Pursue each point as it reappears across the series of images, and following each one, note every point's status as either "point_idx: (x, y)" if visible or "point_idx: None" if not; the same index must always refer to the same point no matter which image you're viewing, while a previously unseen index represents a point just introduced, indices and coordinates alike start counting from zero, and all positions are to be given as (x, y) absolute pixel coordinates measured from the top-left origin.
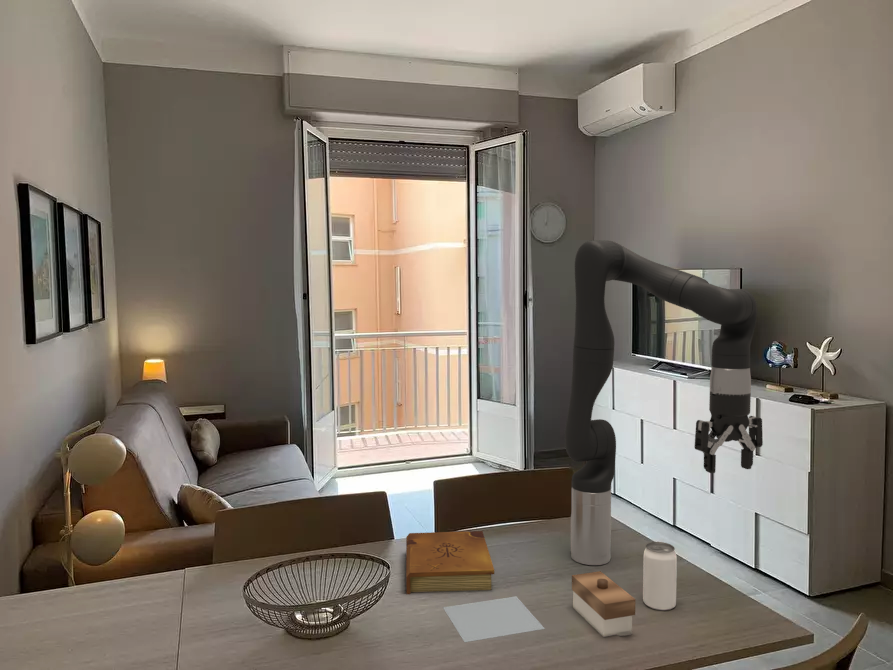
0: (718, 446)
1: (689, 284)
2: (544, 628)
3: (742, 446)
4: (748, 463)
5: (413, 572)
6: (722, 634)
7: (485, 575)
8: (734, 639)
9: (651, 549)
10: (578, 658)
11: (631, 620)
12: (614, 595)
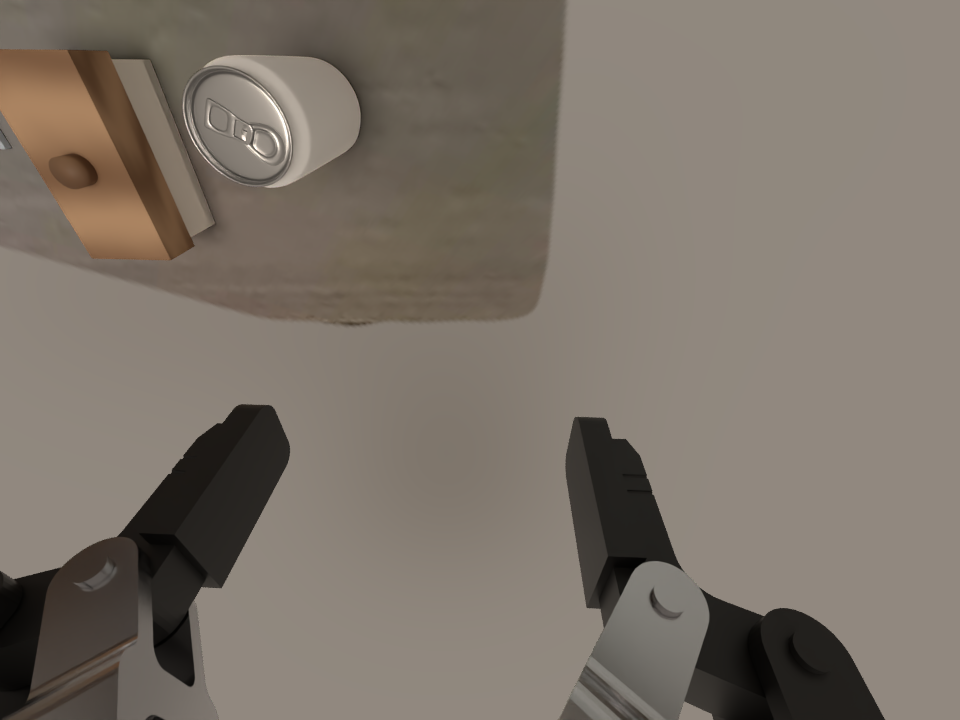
0: (198, 690)
1: None
2: (4, 148)
3: (618, 598)
4: (571, 502)
5: None
6: (395, 278)
7: None
8: (407, 298)
9: (205, 128)
10: (102, 263)
11: (195, 234)
12: (117, 226)
